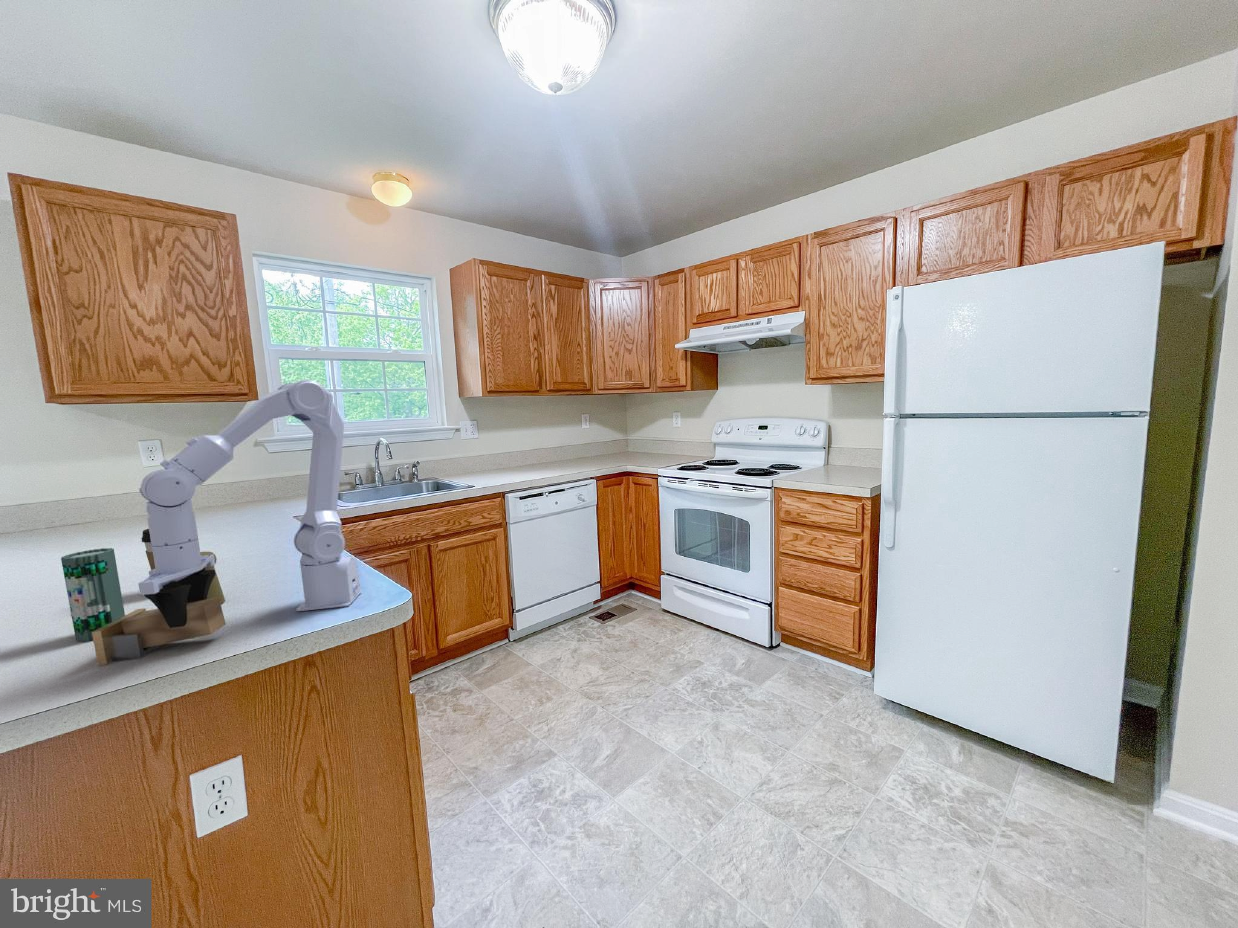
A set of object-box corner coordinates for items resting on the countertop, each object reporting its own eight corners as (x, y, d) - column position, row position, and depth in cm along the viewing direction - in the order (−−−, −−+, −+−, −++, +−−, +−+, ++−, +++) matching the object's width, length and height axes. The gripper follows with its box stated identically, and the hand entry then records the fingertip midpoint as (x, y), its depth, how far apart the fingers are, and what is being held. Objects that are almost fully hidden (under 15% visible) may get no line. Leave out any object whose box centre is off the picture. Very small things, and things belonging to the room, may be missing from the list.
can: (66, 641, 85) (51, 558, 84) (104, 626, 91) (91, 548, 90) (99, 641, 85) (84, 557, 83) (135, 625, 91) (122, 547, 89)
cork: (203, 611, 96) (194, 557, 95) (179, 610, 98) (170, 557, 96) (232, 599, 102) (225, 548, 101) (209, 598, 103) (202, 548, 102)
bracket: (176, 635, 86) (171, 605, 85) (136, 660, 77) (130, 627, 76) (142, 639, 85) (137, 608, 84) (97, 665, 76) (91, 632, 76)
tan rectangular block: (225, 624, 85) (218, 597, 84) (211, 634, 81) (203, 606, 80) (148, 639, 83) (140, 611, 82) (129, 650, 79) (120, 621, 78)
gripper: (179, 533, 87) (190, 606, 88) (110, 556, 73) (124, 643, 74) (223, 529, 88) (233, 601, 89) (164, 552, 74) (177, 637, 75)
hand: (187, 620), depth 82 cm, fingers closed on tan rectangular block, 4 cm apart
